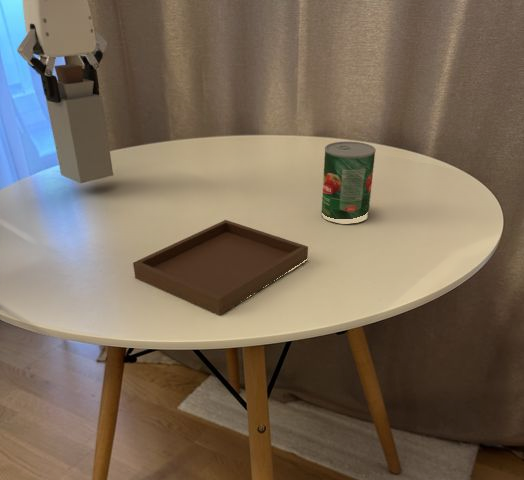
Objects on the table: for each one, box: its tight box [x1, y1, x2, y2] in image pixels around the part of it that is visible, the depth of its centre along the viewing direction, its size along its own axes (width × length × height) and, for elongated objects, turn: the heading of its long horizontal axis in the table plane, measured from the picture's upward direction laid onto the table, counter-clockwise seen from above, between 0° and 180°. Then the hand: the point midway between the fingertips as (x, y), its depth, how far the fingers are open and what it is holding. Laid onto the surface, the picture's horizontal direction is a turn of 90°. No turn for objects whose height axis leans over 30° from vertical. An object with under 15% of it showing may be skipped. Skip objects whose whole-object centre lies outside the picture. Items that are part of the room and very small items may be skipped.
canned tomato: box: [321, 140, 377, 219], centre depth 89 cm, size 8×8×11 cm
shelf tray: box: [132, 219, 309, 316], centre depth 76 cm, size 19×16×2 cm
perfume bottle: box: [44, 63, 114, 184], centre depth 96 cm, size 7×7×18 cm
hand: (73, 97), depth 93 cm, fingers closed on perfume bottle, 7 cm apart
